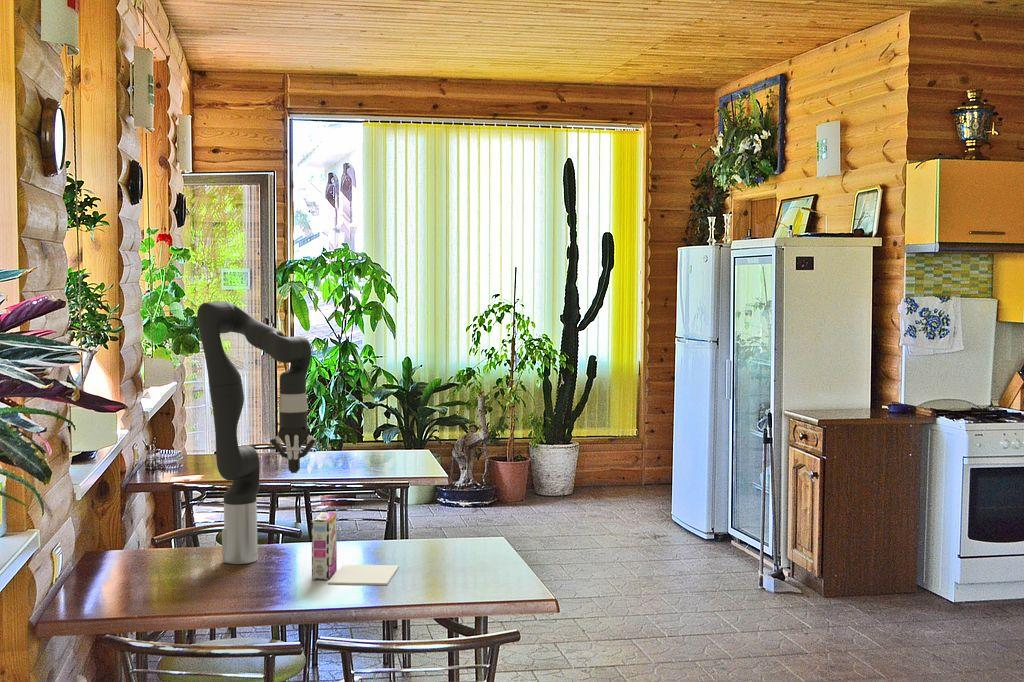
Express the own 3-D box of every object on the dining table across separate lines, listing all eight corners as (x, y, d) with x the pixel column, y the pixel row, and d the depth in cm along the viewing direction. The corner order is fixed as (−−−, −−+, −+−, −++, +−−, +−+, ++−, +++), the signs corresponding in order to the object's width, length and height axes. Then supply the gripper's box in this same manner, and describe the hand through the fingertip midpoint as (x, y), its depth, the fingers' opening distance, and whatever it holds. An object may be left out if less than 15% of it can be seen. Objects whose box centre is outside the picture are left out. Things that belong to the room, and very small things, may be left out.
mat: (327, 584, 288) (327, 582, 288) (343, 566, 306) (343, 564, 306) (387, 585, 287) (387, 583, 286) (399, 567, 304) (399, 565, 304)
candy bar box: (329, 580, 291) (328, 520, 290) (311, 580, 291) (310, 520, 290) (338, 569, 302) (337, 511, 301) (320, 569, 302) (319, 511, 302)
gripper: (265, 411, 292) (266, 475, 293) (313, 411, 291) (314, 475, 292) (273, 408, 299) (274, 470, 300) (320, 408, 298) (321, 470, 299)
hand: (294, 472), depth 296 cm, fingers closed
